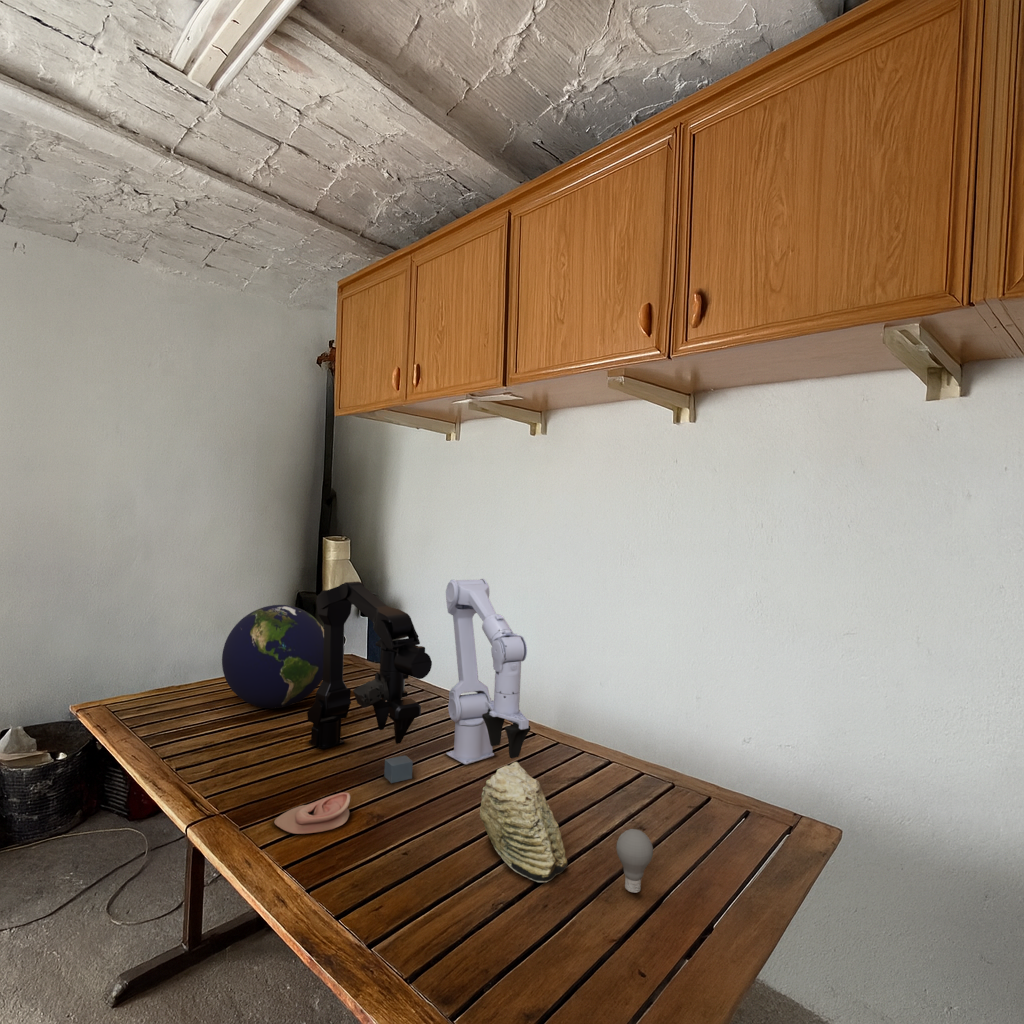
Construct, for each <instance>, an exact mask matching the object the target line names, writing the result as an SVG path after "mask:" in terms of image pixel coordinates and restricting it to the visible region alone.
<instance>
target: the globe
mask: <svg viewBox="0 0 1024 1024" xmlns="http://www.w3.org/2000/svg"><path fill="white" fill-rule="evenodd" d="M323 651H324V626H322V624H321V623H320V621H318V619H317V618H315V616H314V615H312V614H311V613H310V612H308V611H305V610H304V609H302V608H299V607H297V606H292V605H290V604H289V605H288V604H272V605H266V606H263V607H260V608H257V609H255V610H253V611H251V612H250V613H248V614H246V615H245V616H243V618H241V619H240V620H239V621H238V622H237V623H235V625H234V627H232V629H231V631H230V632H229V634H228V635H227V637H226V640H225V642H224V645H223V649H222V654H221V666H222V672H223V676H224V678H225V679H224V680H225V681H226V683H227V685H228V687H229V688H230V689H231V691H232V692H233V693H234V694H235V695H236V696H237V697H238V698H239V699H240V700H242V701H244V702H245V703H247V704H248V705H251V706H254V707H258V708H262V709H282V708H285V707H289V706H293V705H295V704H298V703H299V702H301V701H303V700H304V699H306V698H307V697H309V696H310V695H311V694H312V693H313V692H314V691H315V690H316V689H317V688H318V687H319V686H320V685H321V683H322V681H323Z"/></svg>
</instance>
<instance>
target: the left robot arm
mask: <svg viewBox="0 0 1024 1024" xmlns="http://www.w3.org/2000/svg"><path fill="white" fill-rule="evenodd" d="M316 606H317V607H316V608H317V609H316V610H317V615H318V617H319V619H320V620H321V621H322V623H323V629H324V651H323V679H322V681H321V682H320V684H319V686H318V687H317V688H318V689H317V690H316V691H315V696H314V703H313V704H312V705H311V707H309V709H308V710H307V712H306V715H307V721H308V722H309V723H312V727H311V730H310V731H311V732H310V733H311V735H310V739H309V740H308V743H309V744H310V745H313V746H314V747H316V748H318V749H320V750H327V749H329V748H333V747H336V746H340V745H343V744H344V743H345V741H344V740H343V739H341V737H342V735H341V733H342V720H343V719H347V717H348V714H349V710H350V707H351V704H352V701H351V700H352V699H351V694H352V691H353V694H354V697H355V701H356V703H357V704H358V705H359V706H360V707H361V708H363V709H364V708H365V709H366V708H368V707H370V706H371V705H372V707H373V711H374V714H375V718H376V719H375V720H376V722H377V723H376V724H377V727H378V730H379V731H384V730H385V727H386V725H387V721H388V719H390V720H392V722H393V730H394V731H393V733H394V742H395V744H396V745H400V744H401V743H402V742H403V740H404V737H405V736H406V734H407V732H408V730H409V729H410V726H411V725H412V724H413V722H414V720H415V719H417V718H418V717H420V716H421V715H422V705H420V704H419V702H417V701H416V700H415V699H413V698H412V697H411V698H407V697H408V694H409V693H408V691H407V690H405V684H406V680H408V679H409V677H411V678H414V679H417V680H423V679H424V678H426V677H427V676H428V675H429V674H430V672H431V669H432V665H433V661H432V659H431V656H430V655H429V654H428V653H427V652H426V647H425V646H423V645H422V646H421V641H420V638H419V635H418V632H417V631H416V628H415V626H414V623H413V620H412V618H411V616H410V615H409V614H408V613H407V612H405V611H403V610H401V609H399V608H394V607H391V606H388V605H387V604H385V603H384V602H383V600H380V598H379V597H378V596H377V595H375V594H374V593H372V592H371V591H370V590H369V589H368V588H367V587H365V585H364V583H363V582H361V581H359V580H358V581H346V582H344V583H341V584H340V585H338V586H335V587H332V588H329V589H324V590H321V591H320V592H319V594H317V597H316ZM353 606H354V607H355V608H356V609H357V610H358V611H360V613H362V614H363V615H364V616H365V617H366V618H367V619H369V620H370V622H372V629H373V631H374V632H375V634H376V635H377V636H378V637H379V638H380V639H379V640H378V641H376V642H375V647H379V648H380V659H379V671H376V673H375V674H374V679H372V680H370V681H367V682H365V683H363V684H361V685H359V686H357V687H355V688H354V689H353V690H351V688H350V687H347V685H346V684H345V683H346V682H345V681H344V648H345V647H344V646H345V624H346V622H347V620H348V619H349V617H350V616H351V614H352V607H353ZM403 698H404V699H403Z"/></svg>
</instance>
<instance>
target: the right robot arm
mask: <svg viewBox="0 0 1024 1024" xmlns="http://www.w3.org/2000/svg"><path fill="white" fill-rule="evenodd" d="M445 599H446V600H445V601H446V609H447V613H448V614H449V615H450V616H452V621H453V633H454V643H455V652H456V653H455V654H456V664H457V675H458V681H457V683H456V684H455V685H454V686H453V687H451V689H450V690H449V691H448V705H447V709H448V715H449V717H450V719H451V721H453V722H454V737H453V738H454V741H453V750H450V751H446V756H448V757H450V758H452V759H454V760H456V761H457V762H459V763H461V764H463V765H470V764H472V763H476V762H479V761H482V760H485V759H488V758H492V757H494V756H495V753H494V752H493V747H496V746H500V745H501V741H502V736H503V735H502V733H503V727H504V730H505V733H506V737H507V742H508V756H509V757H508V758H510V759H517V758H519V757H520V754H521V751H522V748H523V745H524V742H525V739H526V737H527V736H528V734H529V733H530V731H531V725H530V719H529V718H528V717H526V715H524V713H523V712H522V711H521V709H520V702H521V701H520V699H521V678H522V677H521V676H522V675H521V674H522V663H523V662H524V661H525V660H526V658H527V655H528V647H527V642H526V640H525V638H524V636H523V635H521V634H518V633H514V631H513V629H512V628H511V627H510V625H509V623H508V622H507V620H506V619H505V617H504V616H503V615H502V614H499V613H497V612H496V610H495V607H494V606H493V604H492V602H491V599H490V586H489V583H488V581H487V580H486V579H485V578H480V579H453V578H452V579H450V580H449V581H448V583H447V586H446V589H445ZM475 614H477V615H478V617H479V618H480V619H481V620H482V624H481V629H482V631H483V634H484V635H485V637H486V638H487V640H488V642H489V643H490V645H491V647H490V652H491V653H490V654H491V657H492V667H493V670H494V690H493V692H494V693H493V700H492V698H491V695H490V691H489V687H488V686H487V684H484V682H482V681H481V680H480V679H479V671H478V660H477V650H476V640H475V629H474V619H473V618H474V616H475ZM465 693H467V694H465ZM505 720H506V721H508V722H510V723H512V724H511V725H507V726H504V723H505Z"/></svg>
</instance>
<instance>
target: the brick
mask: <svg viewBox="0 0 1024 1024" xmlns="http://www.w3.org/2000/svg"><path fill="white" fill-rule="evenodd" d="M413 764H414V761H413V760H412V759H410V757H408V756H407V755H406V754H404V755H399V756H395V757H390V758H385V759H384V775H383V777H384V778H385V779H386V780H387V781H388V782H389V783H390V784H394V783H399V782H403V781H409V780H411V779H413V768H414V767H413V766H414V765H413Z"/></svg>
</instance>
